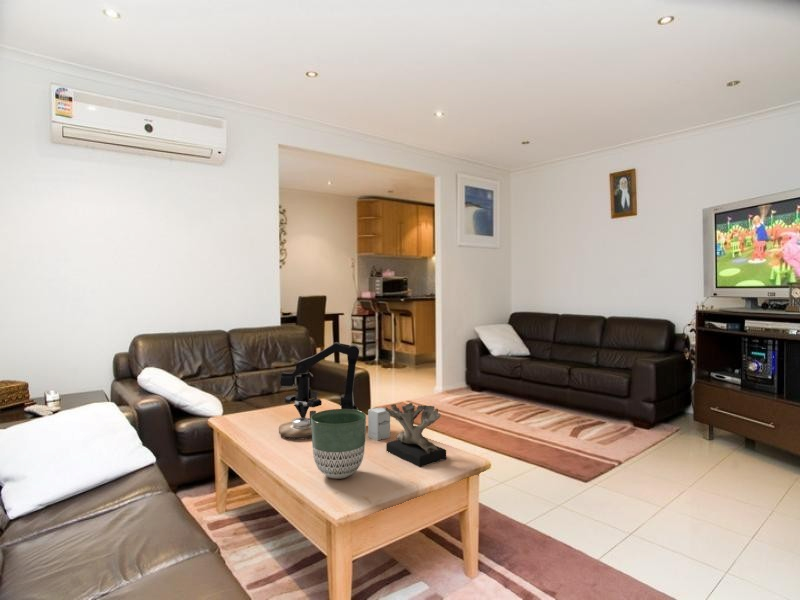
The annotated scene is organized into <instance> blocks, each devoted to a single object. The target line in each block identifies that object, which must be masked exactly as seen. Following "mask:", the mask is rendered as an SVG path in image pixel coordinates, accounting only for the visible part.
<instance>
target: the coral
mask: <svg viewBox="0 0 800 600" xmlns="http://www.w3.org/2000/svg"><path fill="white" fill-rule="evenodd" d="M383 408H384V409H385V410H386V413H388V414H389V415H390V417H392V418H393V419H395V420H396V421H397V422H398V423H399V424H400V425H401V427H402V428H403V430H404V431H401V432H400V433H398V434H397V435H396V438H397V439H394V440H391V441H388V442H386V445H385V449H386V450H385V452H387V451H388V452H387V453H389V452H390V453H389V454H391V455H393V456H395V457H397V458H400V459H402V460H404V461H406V462H407V463H410V464H412V465H414V466H417V467H419V468H422V467H425V466H428V465H430V464H434V463H437V462H441V461H444V460H446V459H447V449H445V448H443V447H441V446H437V445H435V443H433V442H431V441H429V439H427V438H426V437H425V436H423V434H422V433H423V431H424V430H425V429H426V428H427V427H429V426H431V425H433V424H434V423H435V422H437V420H439V419H440V417H441V416H442V415H441V413H439V408H435V405H420V404H419V405H418V406H417V407H416V405H414V404H413V403H412V402H410V403H407V404H405V405H402V406H401V410H402V411H401V410H400V408H399V407H397V404H394V403H393V404H390V408H388V407H387V406H384V407H383ZM415 409H416V410H415ZM420 413H421V414H420ZM419 415H421V416H420V417H421V418H420V424H418V425H414V424H415V419H417V417H418V416H419Z"/></svg>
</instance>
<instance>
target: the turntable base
mask: <svg viewBox="0 0 800 600" xmlns="http://www.w3.org/2000/svg"><path fill="white" fill-rule="evenodd" d="M283 437H284V438H285V439H289V438H290V439H289V440H305V438H307V439H310V437H311V438H312V435H311V436H306V437H287V436H283Z"/></svg>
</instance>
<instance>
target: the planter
mask: <svg viewBox="0 0 800 600" xmlns="http://www.w3.org/2000/svg"><path fill="white" fill-rule="evenodd" d="M366 426H367V414H366V413H365V412H364V411H361V410H359V409H358V410H353V409H341V408H335V409H334V408H333V409H325V410H321V411H318V412H316V413H315V414H313V415H312V416H311V429H312V437H311V442H312V444H311V445H312V453H313V460H314V463H315V465H316V468H317V469H318V470H319V471H320V473H322V474H323V475H325V477H328V478H330V479H335V480H337V479H339V480H340V479H345V478H348V477H350V476H351V475H353V474H355V472H357V471H358V470H359V468H360V467H361V466H362V462H363V460H364V455H365V451H366V450H365V446H366Z"/></svg>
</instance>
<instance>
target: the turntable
mask: <svg viewBox="0 0 800 600" xmlns="http://www.w3.org/2000/svg"><path fill="white" fill-rule="evenodd" d="M315 413H317V411H316V410H309V419H310V427H308V428H305V429H294V428H293V427H292V421H288V422H287V421H286V422H285V423H282V424H280V425H279V426H278V433H279V435H281V436H283V437H284V436H287V437H306V436H311V435H312V429H311V416H312V415H313V414H315Z"/></svg>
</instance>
